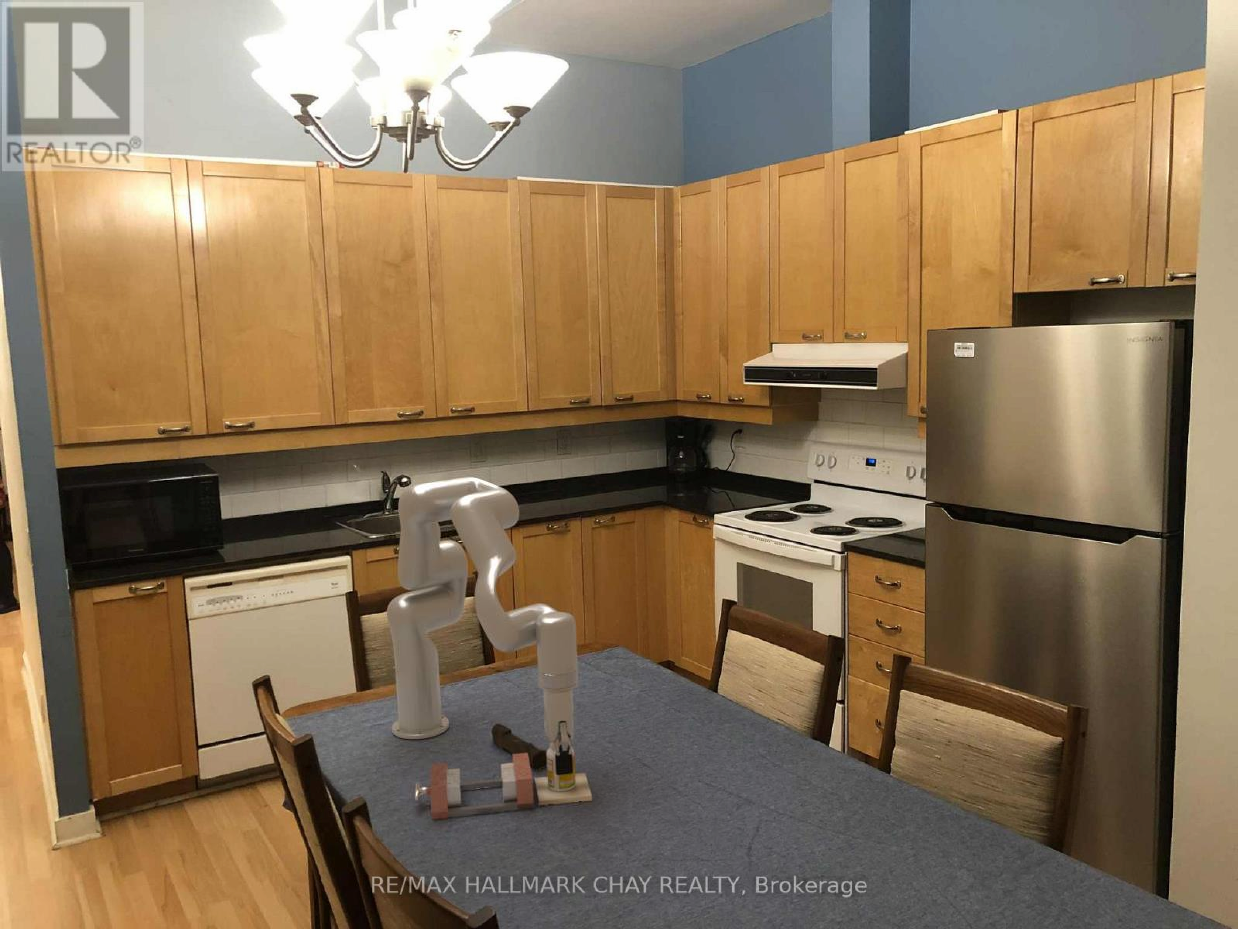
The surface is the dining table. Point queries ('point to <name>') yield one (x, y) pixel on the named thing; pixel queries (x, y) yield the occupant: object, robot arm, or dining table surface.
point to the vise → (449, 788)
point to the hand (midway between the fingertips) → (561, 763)
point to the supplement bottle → (555, 780)
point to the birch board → (554, 797)
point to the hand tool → (518, 746)
